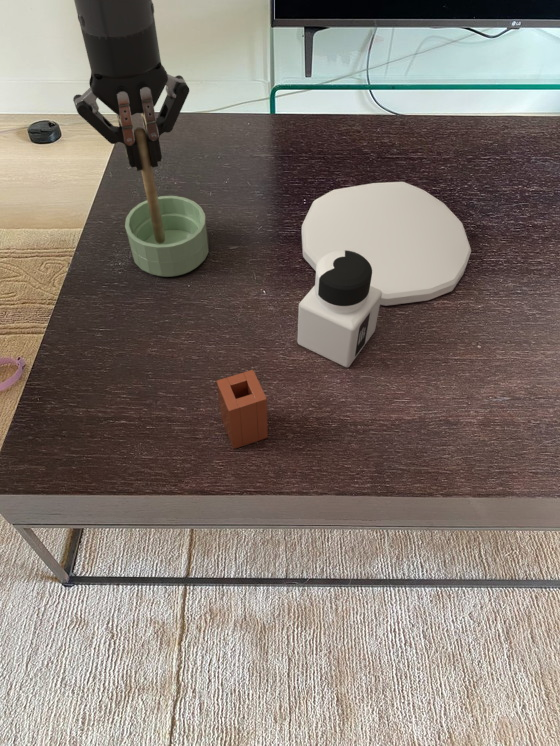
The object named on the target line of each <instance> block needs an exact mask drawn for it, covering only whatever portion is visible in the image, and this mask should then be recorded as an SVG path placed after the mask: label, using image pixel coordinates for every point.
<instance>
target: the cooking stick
mask: <svg viewBox="0 0 560 746" xmlns="http://www.w3.org/2000/svg"><path fill="white" fill-rule="evenodd" d="M133 133H134V138H135V140H136V142H137V144H138V149H139V154H140V159H141V164H142V169H143V170H140V172H141V176H142V181H143V187H144V191H145V197H146V200H147V201H148V206H149V211H150V216H151V221H152V226H153V231H154V236H155V240H156V242H157V243H160V244H161V243H164V242H165V233H164V228H163V223H162V217H161V212H160V207H159V201H158V197H159V196H158V192H157V185H156V181H155V176H154V169H153V168H152V165H151V160H150V155H149V149H148V144H147V139H146V138H147V137H146V131H145V128H144V127H141V126H137V127H136V128H134V129H133Z"/></svg>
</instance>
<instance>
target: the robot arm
mask: <svg viewBox="0 0 560 746" xmlns="http://www.w3.org/2000/svg"><path fill="white" fill-rule="evenodd" d="M73 2H74V5H75V10H76V14H77V20H78V22H79V27H80V30H81V35H82V39H83V43H84V47H85V51H86V56H87V59H88V64H89V67H90V68H89V69H90V78H89V83H88V84H89V88H88V89H87V90H85V92H84V93H83V94H75V95H74V96H73V99H72V101H73V103H74V104H73V105H74V107H75V110H76V112H77V114H78V116H80V117H81V118H82V119H83V120H84V121H86V122H87V123H88V125H90V126H91V128H93V129H94V130H95V131H96V132H97V133H98V134H100V136H102V137H103V138H104V139H105V140H106V141H107V142H108V143H109V144H111V145H116V144H118V143H120V144H123V147H124V151H125V156H126V159H127V162H128V164H129V166H130V168H135V170H136V172H139V171H140V172H141V170H143V169H142V164H141V159H140V154H139V149H138V144H137V142H136V140H135V138H134V128H133V127H134V124H133V118H132V116H134V115H136V114H140V116H141V119H142V124H143V129H144V130H145V132H146V137H147V138H146V139H147V144H148V149H149V155H150V160H151V165H152V169H153V168H157V167H159V162H162V159H163V155H162V150H161V144H160V136H161V135H162V134H164V133H167V134H168V133H171V132H172V131H173V129H174V127H175V124H176V123H177V120H178V119H179V116H180V113H181V111H182V109H183V106H184V104H185V102H186V100H187V98H188V96H189V93H190V87H189V85H188V84H187V82H186V80H185V79H184V77H183V76H182V75H179V74H177V75H176V76H173V75H170V74H168V72H167V70H166V69H165V67H164V65H163V64H162V60H161V54H160V48H159V40H158V33H157V27H156V20H155V5H154V2H153V0H73ZM164 90H165V93H166V96H165V98H164V101H163V103H162V106H161V107H160V109H159V112H158V115H157V116H156V110H155V107H156V105H157V103H158V101H159V99H160V97H161V95H162V93H163V91H164ZM97 99H98V100H99V101H101V103H103V105H105V106H106V107H107V108H108V109H110V110H111V111H112V112H113V113H115V115H116V117H117V122H118V126H117V125H113V123H112V122H110V121H109V120H108V118H106V117H105V116H104V115H103V114H102V113H101V112H100V107H99V104H98V102H97Z"/></svg>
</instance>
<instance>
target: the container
mask: <svg viewBox="0 0 560 746" xmlns="http://www.w3.org/2000/svg"><path fill="white" fill-rule="evenodd" d="M371 277H372V267H371V265H370V263H369V262H368V261H367V260H366V259H365V258H364V257H363V256H361V255H360V254H358V253H355V252H352V251H347V250H339V251H333V252H330V253H328V254H326V255H325V256H323V257H322V258H321V259H320V260H319V262H318V263H317V266H316V271H315V280H314V286H313V287H311V289H310V290H309V291H308V293H306V295H305V296H304V297H303V298H302V300H301V301H300V302H299V303H298V314H297V315H298V318H297V338H296V339H297V342H296V343H297V345H299V346H301V347H303V348H304V349H307V350H309V351H311V352H312V353H313V352H314V353H316V354H318V355H320V356H321V357H324V358H326V359H328V360H330V361H332V362H334V363H336V364H338V365H340V366H342V367H344V368H350V366H351V365H352V363H353V362H354V361H355V359H356V358H357V357H358V355H359V354H360V352H361V351H362V350H363V349H364V347H365V345H366V344H367V343H368V342H369V340H370V339H371V337H372V336H373V334H374V333H375V331H376V327H377V321H378V316H379V311H380V306H381V305H380V301H381V296H382V291H381V290H379V289H377V288H374V287H372V286H370V283H371Z"/></svg>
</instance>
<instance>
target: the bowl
mask: <svg viewBox="0 0 560 746" xmlns="http://www.w3.org/2000/svg"><path fill="white" fill-rule="evenodd" d="M158 201H159V207H160V212H161V217H162V223H163V228H164V233H165V242H164V243H161V244H160V243H157V242H156V240H155V236H154V231H153V226H152V221H151V216H150V211H149V206H148V201H147V199H145V200H144V201H142V202H139V203H138V204H136V205H135V206H134V207H133V208H132V209H130V210H129V213H128V214H127V216H126V217H125V221H124V229H125V232H126V237H127V241H128V245H129V249H130V252H131V253H130V254H131V256H132V259H133V262H134V264H135V265H136V266H137V267H138V268H139V269H140V270H142V271H143V272H145V273H148V274H150V275H154V276H157V277H165V278H168V277H169V278H170V277H171V278H172V277H178V276H182V275H185V274H187V273H190V272H192V271H193V270H195V269H197V268H198V267H199V266H200V265H201V264H202V263H204V261H205V260H206V258H207V256H208V254H209V253H210V251H209V250H210V249H209V247H210V243H209V235H208V234H209V233H208V227H207V217H206V214H205V212H204V210H203V207H201V206H200V205H199V204H198V203H197V202H196V201H194V200H192V199H190V198H187V197H184V196H178V195H160V196H158Z"/></svg>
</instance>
